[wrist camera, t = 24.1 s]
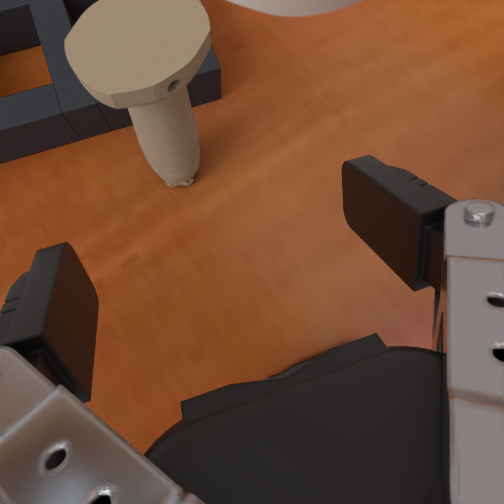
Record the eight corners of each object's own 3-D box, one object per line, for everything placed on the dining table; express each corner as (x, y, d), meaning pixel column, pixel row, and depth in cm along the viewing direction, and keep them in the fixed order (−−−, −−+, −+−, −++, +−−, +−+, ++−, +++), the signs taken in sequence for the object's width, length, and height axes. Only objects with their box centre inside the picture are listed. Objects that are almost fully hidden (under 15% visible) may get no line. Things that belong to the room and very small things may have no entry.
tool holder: (177, -16, 35) (170, -59, 31) (221, 98, 33) (220, 67, 29) (-71, 46, 32) (-111, 7, 28) (-38, 174, 30) (-77, 152, 26)
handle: (228, 171, 32) (230, 36, 17) (164, 217, 31) (109, 115, 16) (192, 128, 32) (165, -39, 18) (128, 171, 31) (43, 33, 17)
